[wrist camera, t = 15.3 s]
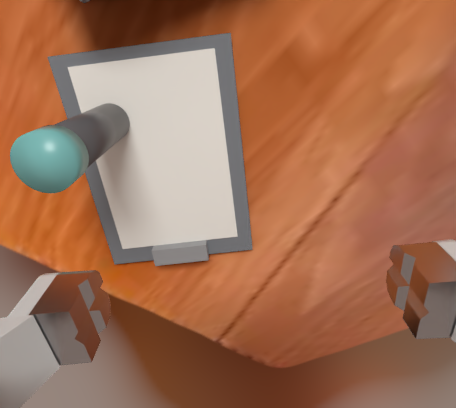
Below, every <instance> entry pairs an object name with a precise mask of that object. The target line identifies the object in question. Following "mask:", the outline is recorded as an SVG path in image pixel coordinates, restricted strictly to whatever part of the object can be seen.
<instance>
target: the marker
mask: <svg viewBox="0 0 456 408" xmlns="http://www.w3.org/2000/svg"><path fill="white" fill-rule="evenodd" d="M129 127H130V121H129V117H128V115H127V113H126V112H125V111H124V110H123V109H122V108H121V107H120V106H118V105H116V104H112V103H106V104H102V105H100V106H97V107H95V108H93V109H90V110H88V111H86V112H83V113H81V114H79V115H76V116H74V117H71V118H69V119H67V120H64V121H62V122H60V123H57V124H55V125H47V126H44V127H41V128H38V129H36V130H33V131H31V132H29V133H26V134H24V135H22V136H20V137H19V138H18V139H17V140H16V141H15V142H14V143H13V145H12V148H11V152H10V160H11V164H12V167H13V169H14V171H15V173H16V175H17V176H18V177H19V178H20V179H21V180H22V182H24V183H25V184H26V185H27V186H29V187H31V188H32V189H34V190H37V191H40V192H44V193H57V192H61V191H63V190H65V189H66V188H68V187H69V186H70V185H71V184H73V183H74V182H75V181H76V180H77V179H78V178H79V177H81V176H82V175H83V174H84V172H85V171H86V169H87V167H89V166H90V165H91V164H92V163H93V162H95V161H96V160H97V159H98V158H99V157H101V156H102V155H103V154H104V153H105V152H106V151H108V150H109V149H110V148H111V147H112V146H114V145H115V144H116V143H117V142H118V141H119V140H121V139H122V138H123V137H124V136H125V135H126V134H127V133H128V131H129Z"/></svg>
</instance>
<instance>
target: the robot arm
mask: <svg viewBox="0 0 456 408" xmlns="http://www.w3.org/2000/svg"><path fill="white" fill-rule="evenodd" d="M389 258H390V259H391V261H392V262H393V266H392V267H391V268H390V269H389V270H388V271H387V278H386V283H387V290H388V293H389V295H390V298H391V300H392V301H393V303H394V305H395V306H397V307H399V308H400V309H402V310H404V314H403V319H404V321H405V323H406V324H407V326H408V327H409V329H410V331H411V332H412V334H413V335H414V337H415V338H416V339H427V338H451V337H452V338H451V339H452V340H453V341H454V342H456V241H455V240H452V239H449V240H440V241H432V242H427V243H416V244H405V245H393V247H392V249H391V252H390V257H389ZM102 283H103V280H102V278H101V275H100V273H99V272H98V271H96V270H92V271H76V272H62V273H48V274H43V275H41V276H39V277H38V278H37V280H36V281H35V282H34V284H33V285H32V286H31V288H30V289H29V290H28V291H27V293H26V294H25V295H24V296H23V298H22V299H21V300H20V301H19V303H18V304H17V305H16V307H15V308H14V309H13V310H12V312H11V313H10V314H9V316H8V317H6V318H5V317H4V318H0V408H20V407H21V406H22V405H23V404H24V403H25V402H26V401H27V400H28V399H29V398H30V397H31V396H32V395H33V394H34V393H35V392H36V391H37V390H38V389H39V388H40V387H41V386H42V385H43V384H44V383H45V382H46V381H47V380H48V379H49V378H50V377H51V376H52V375H53V374H54V373H55V372H56V371H57V370H58V369H59V368H60V365H68V364H78V363H88V362H92V360H93V358H94V356H95V353H96V351H97V348H98V346H99V344H100V341H101V340H100V337H99V335H98V334H99V333H100V332H101V331H102V330H103V329H105V328H106V326H107V324H108V321H109V319H110V310H111V306H110V299H109V297H108V294H107V293H106V292H105V291H103V290H102V289H101V288H100V287H101V285H102Z"/></svg>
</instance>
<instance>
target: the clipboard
mask: <svg viewBox="0 0 456 408" xmlns="http://www.w3.org/2000/svg"><path fill="white" fill-rule="evenodd" d="M48 60H49V63H50V66H51V69H52V72H53V75H54V78H55V81H56V85H57V88H58V91H59V94H60V97H61V100H62V103H63V106H64V109H65V112H66V115H67V118H68V119H69V118H71V117H74V116H76V115H79V114H81V113H83V112H86V111H88V110H90V109H93V108H95V107H97V106H100V105H102V104H106V103H112V104H116V105H118V106H120V107H121V108H122V109H123V110H124V111H125V112H126V113H127V115H128V117H129V121H130V127H129V131H128V133H127V134H126V135H125V136H124V137H123V138H122V139H121V140H119V141H118V142H117V143H116V144H115V145H114V146H112V147H111V148H110V149H109V150H108V151H106V152H105V153H104V154H103V155H102V156H101V157H99V158H98V159H97V160H96V161H95V162H93V163H92V164H91V165H90V166H89V167H87V169H86V171H85V174H86V177H87V180H88V183H89V186H90V190H91V193H92V196H93V199H94V202H95V205H96V208H97V211H98V214H99V217H100V220H101V224H102V227H103V230H104V233H105V236H106V239H107V242H108V245H109V248H110V251H111V254H112V258H113V261H114V264H122V263H132V262H141V261H150V260H154V263H155V266H160V265H169V264H178V263H188V262H197V261H206V260H209V254H215V253H224V252H233V251H243V250H252V240H251V230H250V220H249V210H248V200H247V190H246V180H245V170H244V161H243V151H242V141H241V131H240V121H239V111H238V101H237V91H236V81H235V71H234V61H233V52H232V42H231V33H225V34H218V35H210V36H203V37H195V38H187V39H180V40H172V41H165V42H157V43H150V44H142V45H134V46H127V47H119V48H112V49H104V50H96V51H89V52H81V53H74V54H66V55H58V56H51V57H48Z"/></svg>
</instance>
